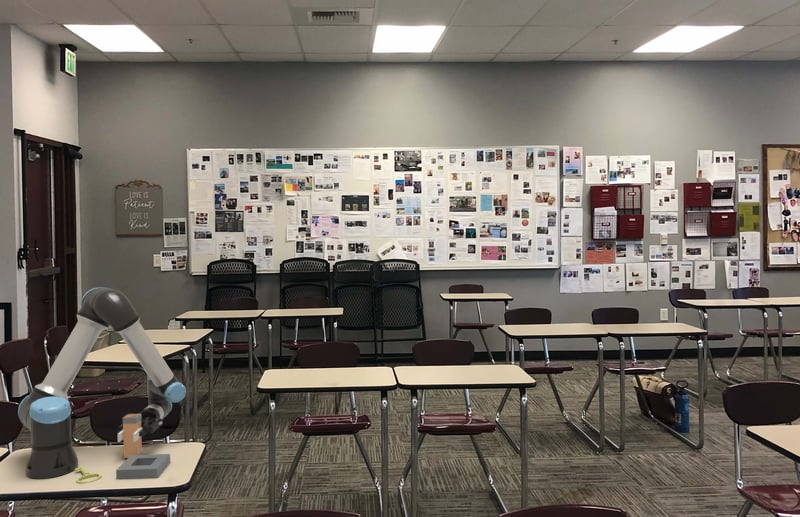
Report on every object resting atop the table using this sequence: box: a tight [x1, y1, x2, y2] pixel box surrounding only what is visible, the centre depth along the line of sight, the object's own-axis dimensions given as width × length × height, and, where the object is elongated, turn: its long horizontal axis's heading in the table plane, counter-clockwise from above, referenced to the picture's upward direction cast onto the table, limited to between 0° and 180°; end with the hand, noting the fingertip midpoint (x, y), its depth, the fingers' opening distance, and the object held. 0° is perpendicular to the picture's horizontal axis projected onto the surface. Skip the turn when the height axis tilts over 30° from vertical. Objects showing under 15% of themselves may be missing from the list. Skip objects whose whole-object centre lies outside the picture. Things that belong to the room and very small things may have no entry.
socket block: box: [115, 453, 171, 480], centre depth 203 cm, size 13×13×3 cm
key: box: [74, 465, 102, 485], centre depth 198 cm, size 7×12×2 cm, turn 59°
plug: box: [122, 413, 143, 459], centre depth 214 cm, size 5×5×14 cm
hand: (126, 437), depth 209 cm, fingers closed on plug, 4 cm apart
